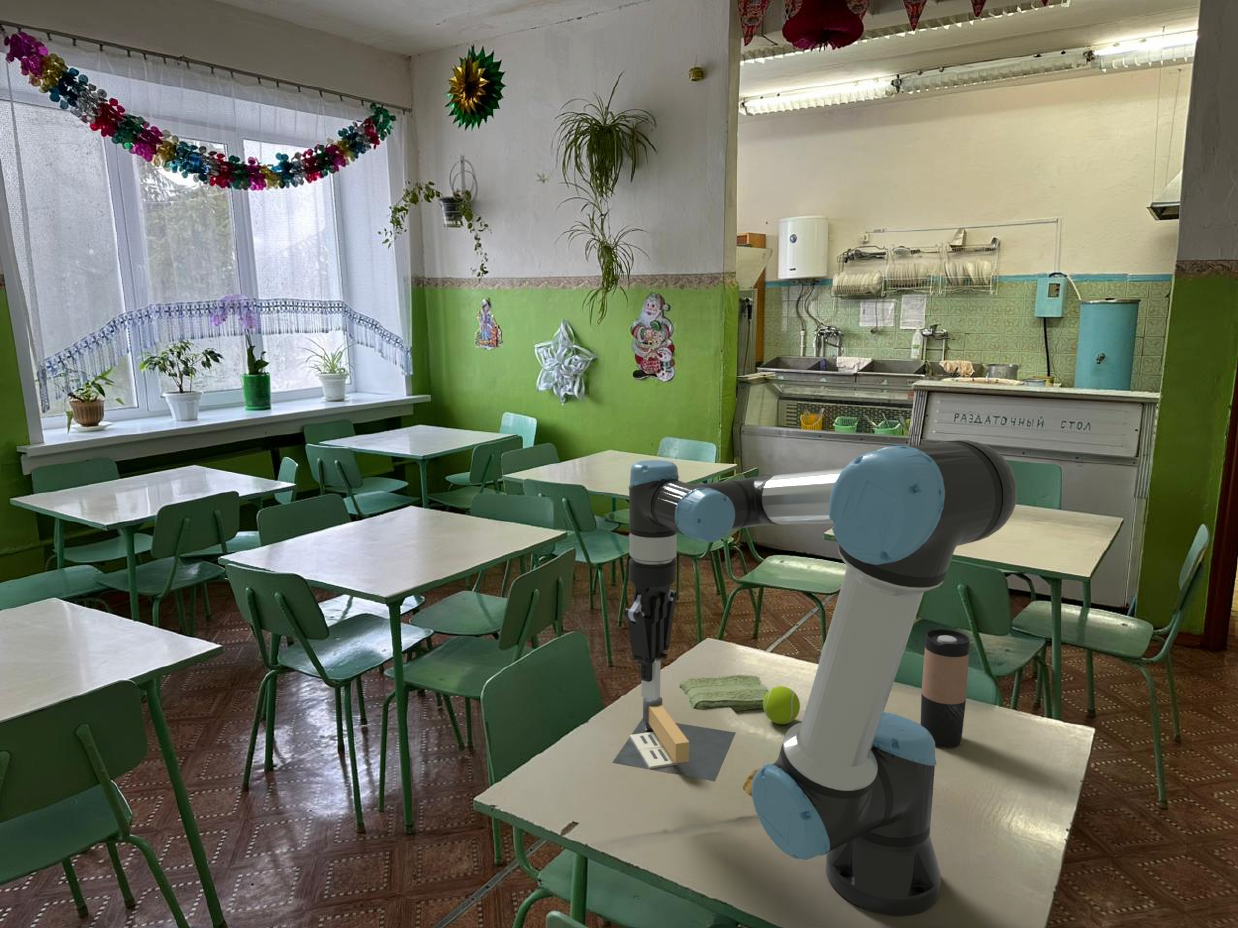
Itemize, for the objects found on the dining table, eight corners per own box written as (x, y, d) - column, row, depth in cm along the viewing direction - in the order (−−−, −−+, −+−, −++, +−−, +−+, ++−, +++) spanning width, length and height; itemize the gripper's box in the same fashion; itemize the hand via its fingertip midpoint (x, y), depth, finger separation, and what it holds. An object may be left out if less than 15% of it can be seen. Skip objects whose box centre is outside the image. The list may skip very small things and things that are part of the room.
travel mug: (955, 729, 158) (963, 629, 155) (968, 750, 151) (976, 645, 148) (914, 727, 159) (920, 628, 156) (924, 748, 152) (931, 643, 148)
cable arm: (640, 716, 157) (640, 696, 157) (658, 713, 158) (658, 694, 158) (672, 763, 140) (672, 741, 140) (692, 760, 141) (692, 738, 141)
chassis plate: (714, 787, 139) (714, 772, 138) (612, 768, 144) (612, 754, 144) (735, 738, 155) (735, 724, 155) (642, 723, 161) (643, 710, 160)
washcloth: (778, 711, 167) (779, 695, 167) (693, 718, 164) (693, 702, 163) (756, 683, 180) (757, 669, 179) (677, 690, 177) (677, 675, 176)
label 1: (629, 736, 153) (629, 734, 153) (655, 733, 154) (655, 730, 154) (639, 752, 147) (639, 750, 147) (666, 748, 149) (666, 746, 149)
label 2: (639, 751, 148) (639, 748, 148) (665, 747, 149) (665, 745, 149) (649, 768, 142) (649, 766, 142) (677, 764, 144) (677, 761, 144)
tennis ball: (801, 717, 164) (803, 683, 162) (795, 733, 157) (797, 698, 156) (766, 711, 166) (767, 678, 165) (759, 726, 160) (760, 692, 158)
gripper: (654, 545, 140) (652, 677, 144) (609, 563, 130) (609, 705, 134) (693, 552, 136) (690, 688, 140) (650, 572, 125) (648, 718, 130)
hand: (650, 696), depth 137 cm, fingers closed
